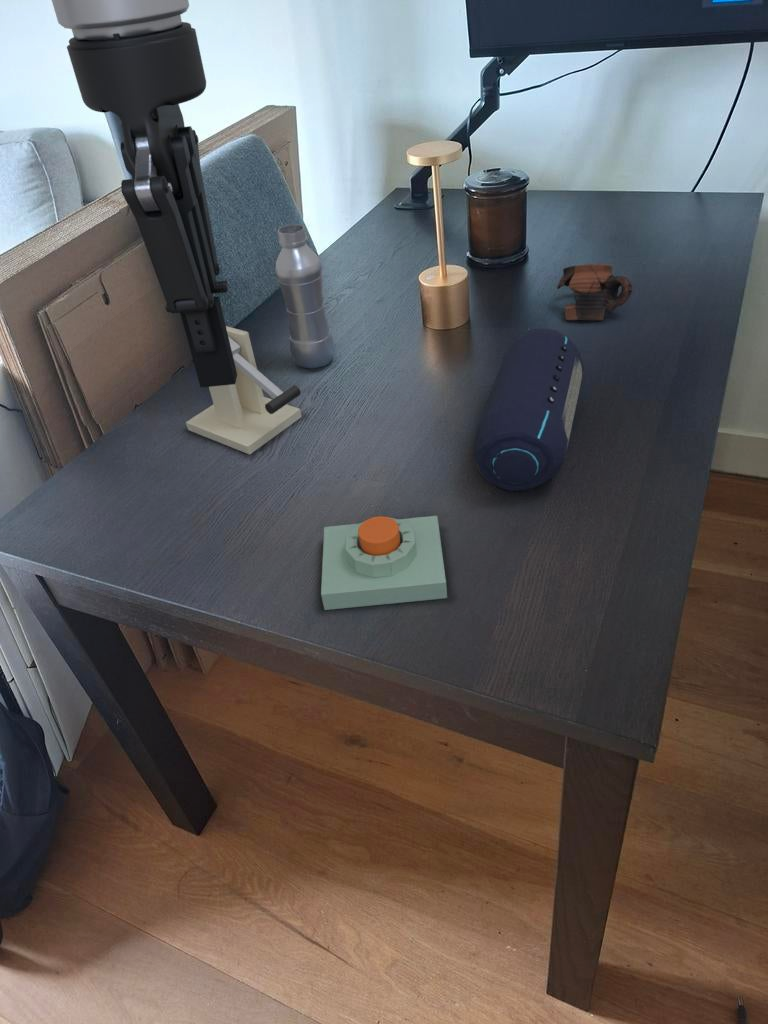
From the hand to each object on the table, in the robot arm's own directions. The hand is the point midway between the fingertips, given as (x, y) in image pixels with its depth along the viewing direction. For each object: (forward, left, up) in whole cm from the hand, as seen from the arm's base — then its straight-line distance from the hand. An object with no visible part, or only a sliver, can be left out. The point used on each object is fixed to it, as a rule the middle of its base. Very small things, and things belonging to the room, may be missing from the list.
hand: (219, 380), depth 59 cm
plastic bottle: (+1, +50, -25) cm, 56 cm away
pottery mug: (+44, +57, -25) cm, 76 cm away
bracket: (-8, +35, -25) cm, 43 cm away
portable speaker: (+29, +24, -25) cm, 45 cm away
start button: (+10, +4, -22) cm, 24 cm away
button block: (+10, +4, -25) cm, 28 cm away
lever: (-5, +32, -18) cm, 37 cm away
